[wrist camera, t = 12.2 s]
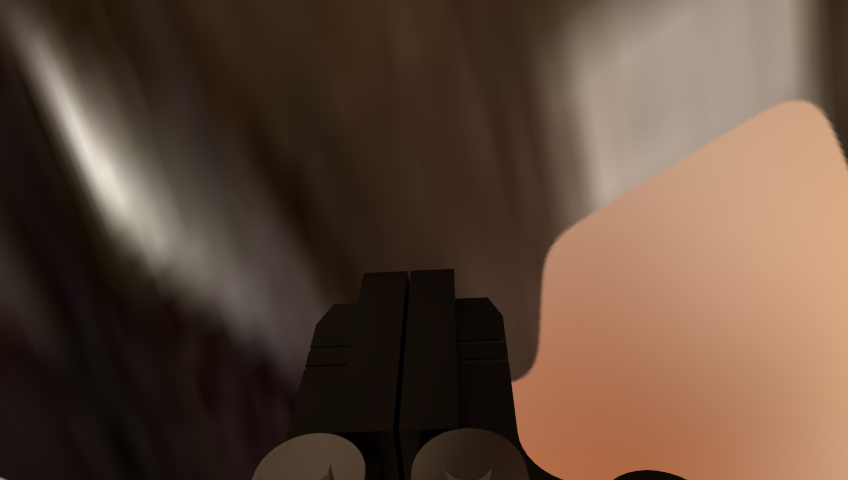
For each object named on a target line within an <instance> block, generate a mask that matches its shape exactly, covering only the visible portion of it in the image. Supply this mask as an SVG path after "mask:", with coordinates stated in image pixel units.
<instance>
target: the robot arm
mask: <svg viewBox="0 0 848 480" xmlns="http://www.w3.org/2000/svg"><path fill="white" fill-rule="evenodd" d="M310 347H311V351H309V354H308V358H307V362H306V365H305V366H306V370H304V373H303V377H302V380H301V384H300V388H299V392H298V395H297V399H296V403H295V407H294V410H293V414H292V418H291V422H290V425H289V429H288V433H287V437H286V440H285V442H284V443H283V444H281V445H279V446H278V447H276V448H275V449H274V450H272V451H271V452H270V453H269V454H268V455H267V456H266V457H265V458H264V459H263V460H262V462H261V463H260V464H259V466H258V467H257V469H256V471H255V473H254V476H253V478H252V480H561V479H559V478H557V477H555V476H553V475H551V474H549V473H547V472H546V471H544V470H543V469H541V468H540V467H539V466H537V465H536V464H535V463H534V462H533V461H532V460H531V459H530V458H529V457H528V455H527V454H526V452H525V451H524V449H523V448H522V445H521V443H520V441H519V437H518V433H517V424H516V417H515V408H514V401H513V392H512V385H511V377H510V369H509V362H508V353H507V345H506V338H505V330H504V322H503V316H502V315H501V313H500V312H499V311H498V310H497V308H496V307H495V306H494V305H493V304H492V302H491V301H490V300H489V299H488V297H484V298H462V299H456V288H455V272H454V269H440V270H419V271H411V275H410V278H409V273H408V271H401V272H380V273H365V274H364V276H363V281H362V287H361V292H360V297H359V303H354V304H334V305H333V306H332V307H331V308H330V310H329V311H328V312H327V313H326V314H325V315H324V316H323V317H322V319H321V320H320V321H319V322H318V323H317V324H316V328H315V331H314V335H313V339H312V343H311V346H310ZM614 480H686V479H684V478H682V477H679V476H676V475H673V474H670V473H666V472H661V471H653V470H642V471H634V472H629V473H626V474H624V475H621V476H619V477H617V478H615V479H614Z"/></svg>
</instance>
